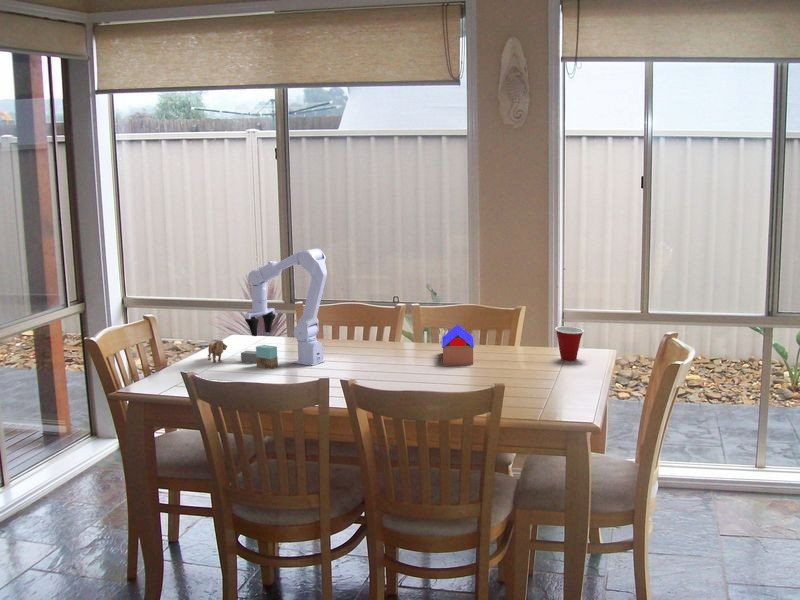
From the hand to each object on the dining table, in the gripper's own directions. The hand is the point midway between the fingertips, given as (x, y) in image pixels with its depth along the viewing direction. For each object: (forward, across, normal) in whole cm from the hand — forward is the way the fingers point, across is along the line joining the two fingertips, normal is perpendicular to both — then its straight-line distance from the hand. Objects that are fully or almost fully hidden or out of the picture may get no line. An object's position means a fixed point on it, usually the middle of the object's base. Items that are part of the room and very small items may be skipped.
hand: (261, 334), depth 352 cm
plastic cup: (+10, -57, +105) cm, 120 cm away
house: (+10, -38, +67) cm, 78 cm away
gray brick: (+10, +6, 0) cm, 12 cm away
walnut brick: (+10, +9, +11) cm, 17 cm away
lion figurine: (+10, +12, -14) cm, 21 cm away
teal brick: (+6, +9, +11) cm, 16 cm away
